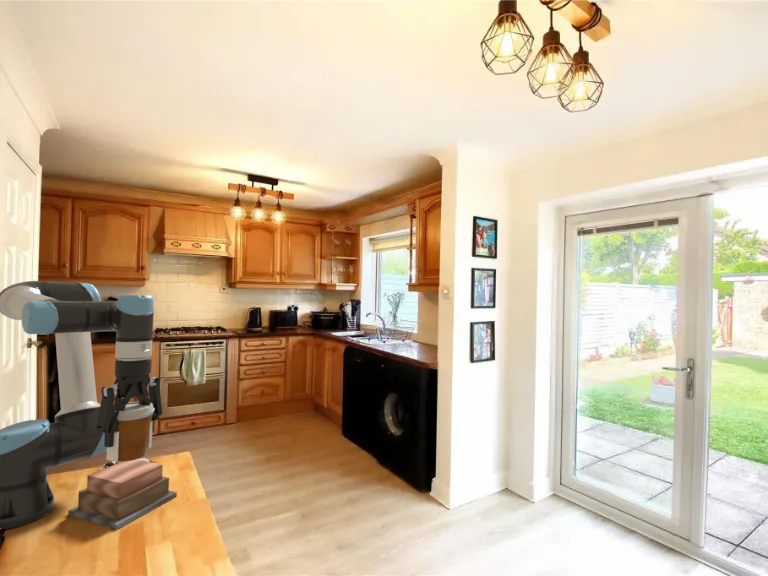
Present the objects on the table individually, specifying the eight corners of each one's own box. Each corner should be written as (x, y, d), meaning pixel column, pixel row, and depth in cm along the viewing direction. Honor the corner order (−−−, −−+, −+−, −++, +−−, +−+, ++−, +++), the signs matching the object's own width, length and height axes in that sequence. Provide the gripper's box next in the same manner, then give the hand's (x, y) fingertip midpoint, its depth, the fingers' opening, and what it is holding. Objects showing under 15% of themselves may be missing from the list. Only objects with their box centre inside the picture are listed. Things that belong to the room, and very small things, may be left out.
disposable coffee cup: (144, 463, 93) (147, 411, 93) (98, 466, 91) (100, 412, 91) (158, 447, 102) (160, 400, 102) (115, 450, 100) (118, 401, 100)
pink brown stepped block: (68, 514, 106) (69, 477, 106) (131, 485, 123) (132, 453, 123) (116, 529, 100) (118, 490, 100) (176, 496, 116) (177, 462, 117)
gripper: (101, 366, 86) (96, 473, 85) (180, 353, 105) (177, 441, 105) (77, 363, 88) (72, 467, 88) (159, 351, 108) (156, 436, 107)
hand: (129, 453), depth 96 cm, fingers closed on disposable coffee cup, 8 cm apart
